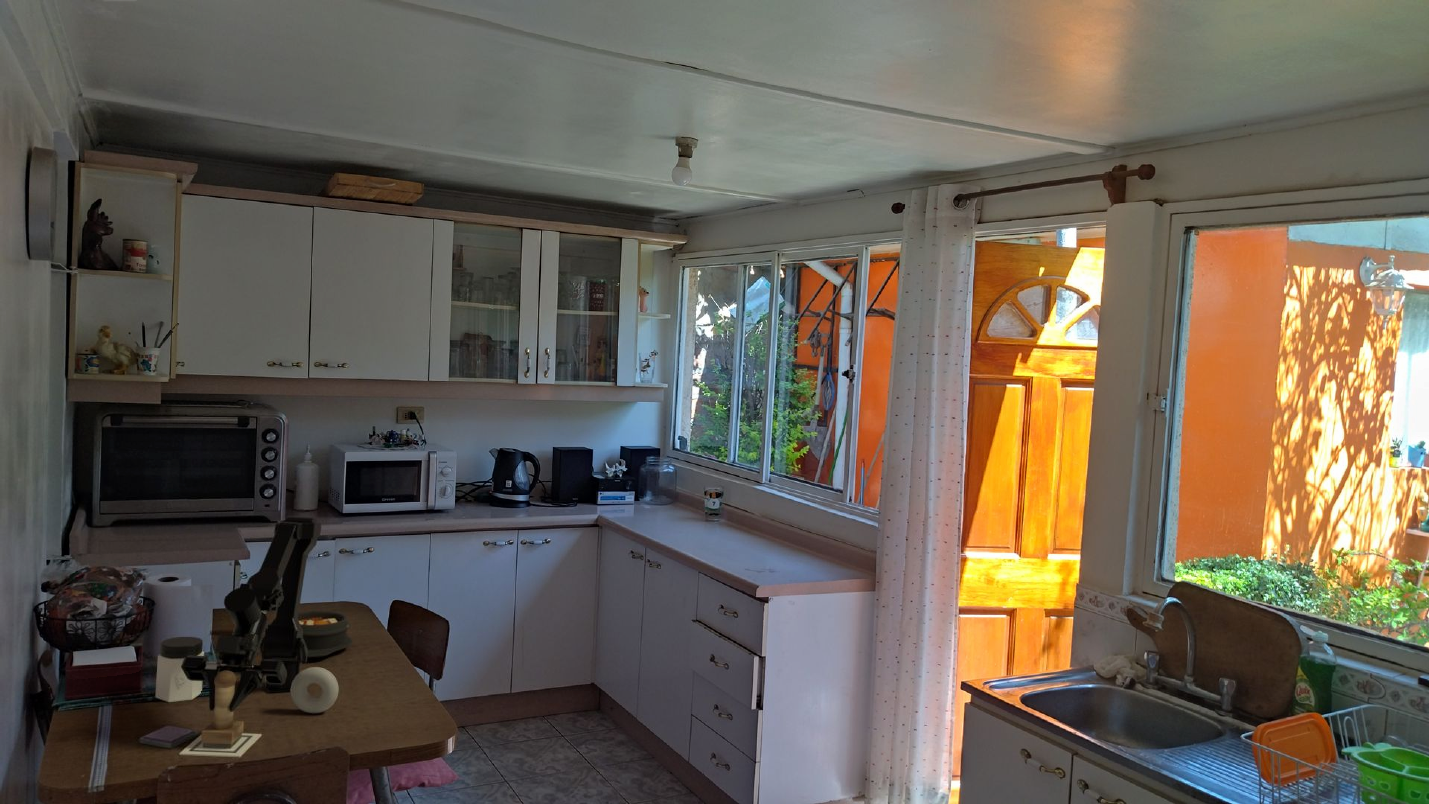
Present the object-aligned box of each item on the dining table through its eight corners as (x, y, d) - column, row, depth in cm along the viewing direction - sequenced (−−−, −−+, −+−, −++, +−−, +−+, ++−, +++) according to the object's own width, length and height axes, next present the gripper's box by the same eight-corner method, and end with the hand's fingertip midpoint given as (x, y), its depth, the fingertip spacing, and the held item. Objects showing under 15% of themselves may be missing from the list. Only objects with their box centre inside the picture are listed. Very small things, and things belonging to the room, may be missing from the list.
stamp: (213, 735, 193) (216, 665, 192) (243, 737, 194) (246, 666, 193) (201, 747, 188) (204, 675, 187) (231, 749, 188) (234, 676, 187)
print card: (204, 733, 195) (204, 731, 195) (261, 735, 196) (261, 733, 196) (179, 755, 184) (179, 753, 184) (239, 757, 185) (239, 755, 185)
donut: (286, 714, 208) (289, 668, 208) (292, 709, 212) (295, 663, 212) (334, 717, 209) (337, 670, 209) (339, 711, 213) (342, 666, 212)
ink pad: (167, 730, 195) (167, 724, 195) (197, 736, 194) (197, 730, 194) (139, 742, 188) (139, 736, 188) (170, 748, 187) (170, 742, 187)
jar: (156, 704, 209) (160, 648, 208) (154, 692, 216) (157, 638, 215) (203, 699, 214) (207, 644, 213) (199, 687, 220) (202, 635, 220)
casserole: (339, 665, 243) (341, 632, 243) (260, 663, 240) (263, 629, 240) (361, 637, 268) (363, 607, 268) (290, 635, 265) (292, 604, 265)
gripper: (188, 615, 193) (158, 688, 182) (285, 620, 194) (261, 693, 184) (203, 643, 201) (174, 715, 190) (296, 648, 203) (274, 719, 192)
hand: (220, 710), depth 189 cm, fingers closed on stamp, 3 cm apart
